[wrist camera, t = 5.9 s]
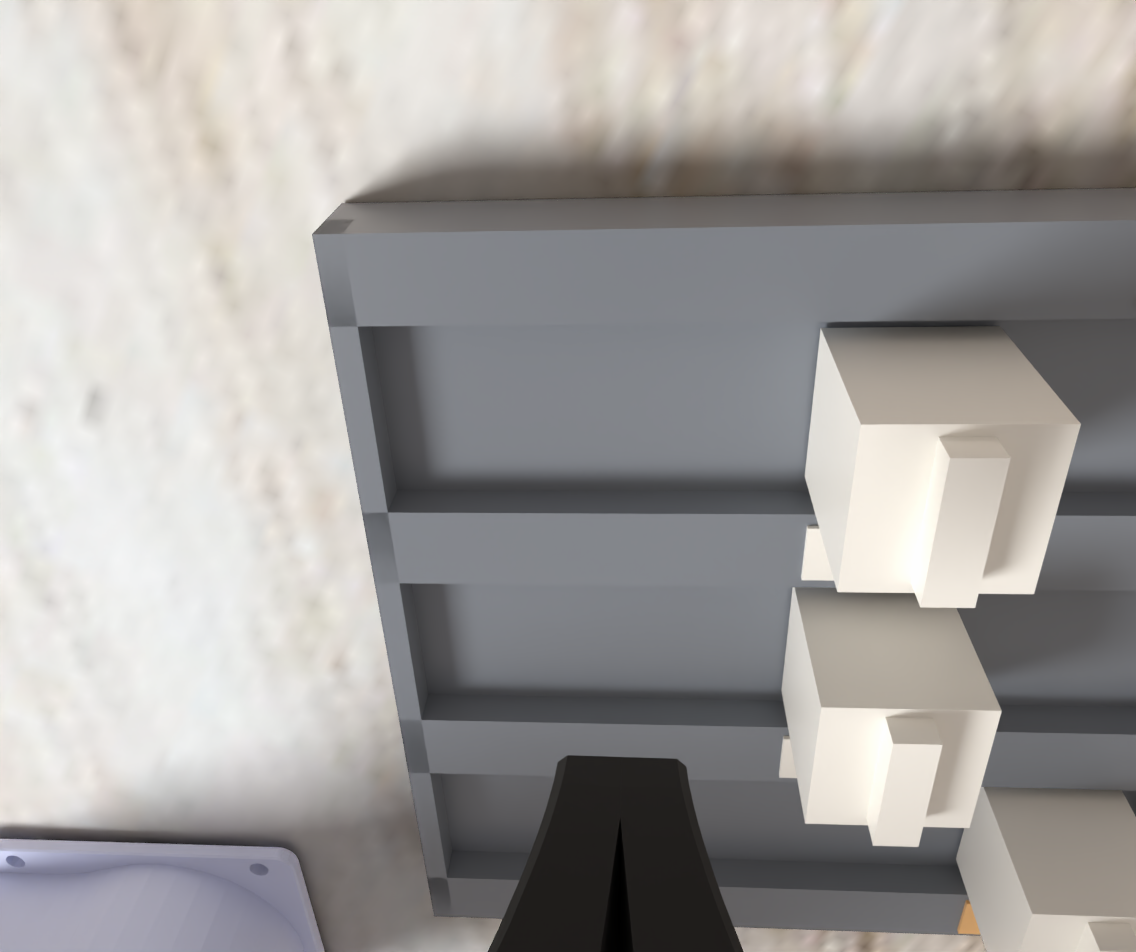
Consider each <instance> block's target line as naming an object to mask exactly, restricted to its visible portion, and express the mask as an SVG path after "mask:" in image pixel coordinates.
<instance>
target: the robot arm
mask: <svg viewBox="0 0 1136 952" xmlns="http://www.w3.org/2000/svg"><path fill="white" fill-rule="evenodd" d="M0 952H325V951H324V948H323V944H322V941H321V937H320V934H319V930H318V927H317V923H316V920H315V916H314V913H313V909H312V906H311V902H310V899H309V895H308V892H307V888H306V885H305V881H304V878H303V874H302V871H301V867H300V864H299V860H298V858H297V856H296V855H295V854H294V853H293V852H292V851H290V850H288V849H285V848H281V847H258V846H226V845H193V844H161V843H128V842H96V841H63V840H31V839H0ZM488 952H743V949H742V947H741V944H740V942H739V939H738V936H737V934H736V931H735V929H734V926H733V924H732V921H731V919H730V916H729V913H728V911H727V908H726V906H725V903H724V901H723V898H722V895H721V892H720V889H719V887H718V884H717V881H716V878H715V875H714V872H713V869H712V866H711V863H710V860H709V857H708V854H707V851H706V847H705V844H704V841H703V838H702V834H701V831H700V827H699V824H698V820H697V816H696V812H695V809H694V805H693V800H692V795H691V791H690V786H689V781H688V774H687V767H686V766H685V765H684V764H683V763H682V762H680V761H679V760H678V759H671V758H640V757H609V756H577V755H567V756H566V757H564V758H563V759H561V760H560V761H559V762H558V763H557V768H556V773H555V777H554V782H553V786H552V789H551V793H550V796H549V800H548V803H547V807H546V810H545V813H544V816H543V819H542V822H541V825H540V828H539V831H538V834H537V836H536V839H535V842H534V844H533V847H532V850H531V852H530V855H529V858H528V860H527V863H526V866H525V868H524V871H523V873H522V875H521V878H520V880H519V882H518V885H517V887H516V889H515V892H514V894H513V896H512V899H511V901H510V903H509V906H508V908H507V910H506V913H505V915H504V917H503V920H502V922H501V924H500V927H499V929H498V931H497V933H496V935H495V938H494V940H493V942H492V944H491V946H490V948H489V950H488Z"/></svg>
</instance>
